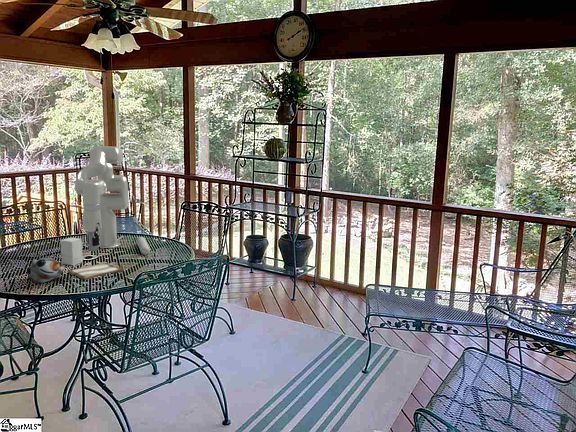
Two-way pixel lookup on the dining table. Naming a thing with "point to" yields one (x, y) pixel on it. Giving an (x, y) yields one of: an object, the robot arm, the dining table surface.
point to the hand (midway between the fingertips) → (93, 244)
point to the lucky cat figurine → (44, 270)
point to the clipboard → (95, 270)
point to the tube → (143, 246)
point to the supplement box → (71, 251)
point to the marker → (91, 248)
